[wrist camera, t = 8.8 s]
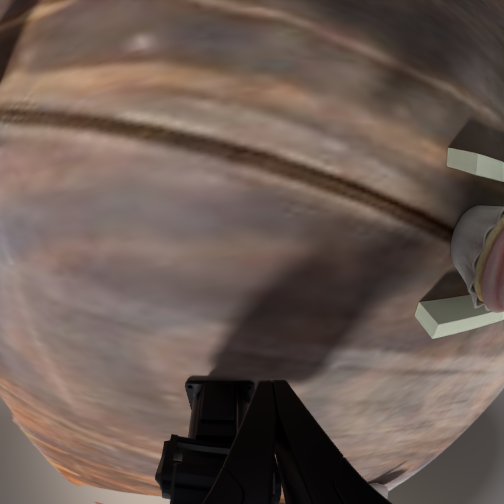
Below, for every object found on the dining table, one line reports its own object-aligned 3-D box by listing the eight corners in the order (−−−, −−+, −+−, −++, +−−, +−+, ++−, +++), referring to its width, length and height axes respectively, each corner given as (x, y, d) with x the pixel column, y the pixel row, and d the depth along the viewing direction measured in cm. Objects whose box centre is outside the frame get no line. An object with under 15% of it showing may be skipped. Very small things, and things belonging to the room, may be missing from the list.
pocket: (496, 300, 23) (520, 323, 18) (414, 315, 22) (440, 349, 18) (527, 172, 17) (560, 185, 12) (447, 147, 16) (492, 156, 12)
